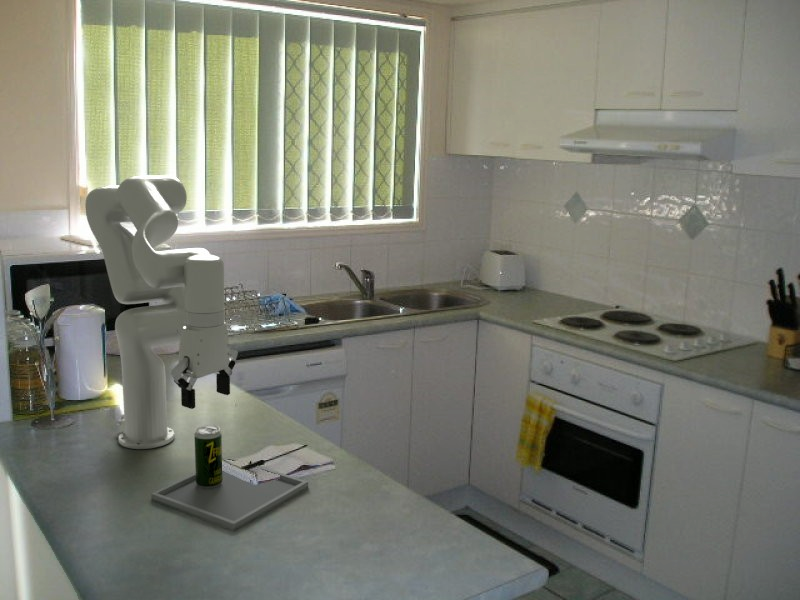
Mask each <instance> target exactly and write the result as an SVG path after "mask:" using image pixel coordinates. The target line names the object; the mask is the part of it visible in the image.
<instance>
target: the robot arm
mask: <svg viewBox="0 0 800 600" xmlns="http://www.w3.org/2000/svg"><path fill="white" fill-rule="evenodd" d="M187 197H188V196H187V190H186V189H185V185H184V184H183V183H182V181H181V180H180V179H179V178H177V177H176V176H174V175H170V174H169V175H168V174H164V175H163V174H161V175H159V174H157V175H135V176H130V177H128V178H125V179H124V180H123V181H122V182H121V183H119V185H117V184H116V185H115V184H114V185H105V186H100V187H96V188H94V189H92V190H90V191H89V193H88V194H87V196H86V198H85V204H84V205H85V216H86V220H87V223H88V226H89V228H90V230H91V232H92V235H93V236H94V238H95V240H96V242H97V243H98V245H99V247H100V249H101V253H102V255H103V259H104V263H105V266H106V272H107V276H108V280H109V283H110V287H111V291H112V294H113V296H114V298H115V299H116V301H117V302H118V303H119V304H122V305H123V304H124V305H136V304H144V303H154V302H161V304H157V305H148V306H140V307H134V308H129V309H126V310H124V311H123V312H121V313H120V314H119V315H117V317H116V319H115V324H114V330H115V335H116V340H117V343H118V348H119V349H118V350H119V353H120V354H119V355H120V362H121V378H122V379H121V380H122V395H123V397H122V399H123V413H122V414H121V416H120V419H117V420H116V425H117V426H120V427H122V432H120V433H119V434H118V439H117V441H118V444H119V445H120V446H122V447H124V448H128V449H134V450H147V449H155V448H156V449H157V448H159V447H162V446H163V447H164V446H165V445H167V444H169V443H171V442H172V441H173V440H175V435H176V434H175V431H174V430H173V429H172V428H171V427H169V426H168V409H167V407H168V406H167V384H166V383H167V382H166V366H165V363H164V361H163V360H162V359H161V358H160V356H158V354H157V353H156V352H155V351H154V349H156V348H161V347H165V346H171V345H172V346H173V345H178V344H179V345H178V347H179V348H178V363H177V364H176V365H175V366H174V367H173V368H172V369H171V370H170V375H171V377H172V379H173V381H174V383H175V384H176V386H178V388H180V392H181V393H180V394H181V395H180V399H181V404H180V405H181V406H182V407H183V408H187V409H191V410H193V409H195V408H196V389H195V388H193V387H194V386H195V384H196V382H197V380H198V379H201V378H204V377H206V376H209V375H210V376H211V375H212V374H213V375H214V374H215V373H216V378H215V379H216V382H215V383H216V392H217V393H218V394H221V395H224V396H229V395H231V376H232V375H233V369H234V367H235V365H236V360H237V358H238V354H239V352H238V350H235V349H233V348H231V347H230V341H229V332H228V328H227V323H226V322H225V314H226V312H227V311H226V308H225V267H224V266H225V265H224V260H223V259H222V258H221V257H220V256H217V255H214V254H212V253H211V252H210V251H209V250H207V249H206V248H203V247H191V248H189V247H188V248H178V249H177V248H176V249H166V250H155V249H154V248H156V247H158V246H160V245H162V244H163V243H165V242H167V241H168V240H169V239H171V238H172V237H173V236H174V234H175V233H176V231H177V229H178V228H179V227H178V226H179V219H178V216H177V214H179V213H181V212H182V211H183V210H184V209H185V207H186V204H187V199H188V198H187ZM121 223H132V224H133V227H135V229H136V232H135V234H133V233H132V232H131V231H129V230H128V229H127V228H126V227H124V226H123V225H122V224H121ZM189 378H190V379H189Z"/></svg>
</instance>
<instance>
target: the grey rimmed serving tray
mask: <svg viewBox="0 0 800 600" xmlns="http://www.w3.org/2000/svg"><path fill="white" fill-rule="evenodd" d="M222 460H232V461H236V460H237V461H238V460H239V459H237V458H234V457H231V456H228V457H226V458H222ZM257 468H260V469H262V470H265V471H267V472H271V473H274V474H278V475H280V479H278V480H275V481H270V482H266V483H261V484H259V485H253V484H251V483H249V482H246V481H243V480H241V479H239V478H237V477H235V476H233V475H230V474H228V473H226V472H224V471H222V475H223V481H222V483H221V485H220V486H219V487H217V488H214V489H201V488H199V487H198V486H197V484H196V472H194V473H191V474H190V475H188V476H185V477H183V478H181V479H179V480H176V481H175V482H172V483H170V484H167V485H166V486H163V487H161V488H159V489H157V490H155V491H153V492H152V493H150V500H151V501H152V502H154V503H157V504H160V505H162V506H165V507H168V508H170V509H173V510H174V511H175V510H176V511H178V512H181V513H184V514H186V515H188V516H192V517H194V518H198V519H199V520H203V521H206V522H208V523H211V524H213V525H215V526H219V527H222V528H225V529H227V530H230V531H231V532H232V531H233V532H236V531H238V530H239V529H241V528H242V527H245V526H246V525H248V524H249V523H251V522H253V521H255V520H257V519H259V518H260V517H261V516H263V515H265V514H267V513H268V512H270V511H272V510H274V509H276V508H277V507H279V506H280V505H282V504H284V503H285V502H288V501H289V500H291V499H293V498H294V497H296V496H297V495H300V494H301V493H303V492H305V491H306V490H308V489H309V481H308V480H305V479H301V478H297V477H295V476H292V475H288V474H285V473H282V472H279V471H275V470H272V469H269V468H266V467H263V466H260V465H257Z"/></svg>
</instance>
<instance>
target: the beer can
mask: <svg viewBox="0 0 800 600" xmlns="http://www.w3.org/2000/svg"><path fill="white" fill-rule="evenodd" d="M194 431H195V433H194V436H193V437H194V459H195V461H194V463H195V473H196V484H197V486H198V487H199V488H201V489H214V488H217V487H219V486H220V485H221V483H222V481H223V475H222V460H223V447H222V445H223V444H222V442H223V441H222V431H221V428H220V427H219V426H218V425H215V424H213V425H212V424H205V425H201V426H198V427H196V428H195V430H194Z"/></svg>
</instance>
